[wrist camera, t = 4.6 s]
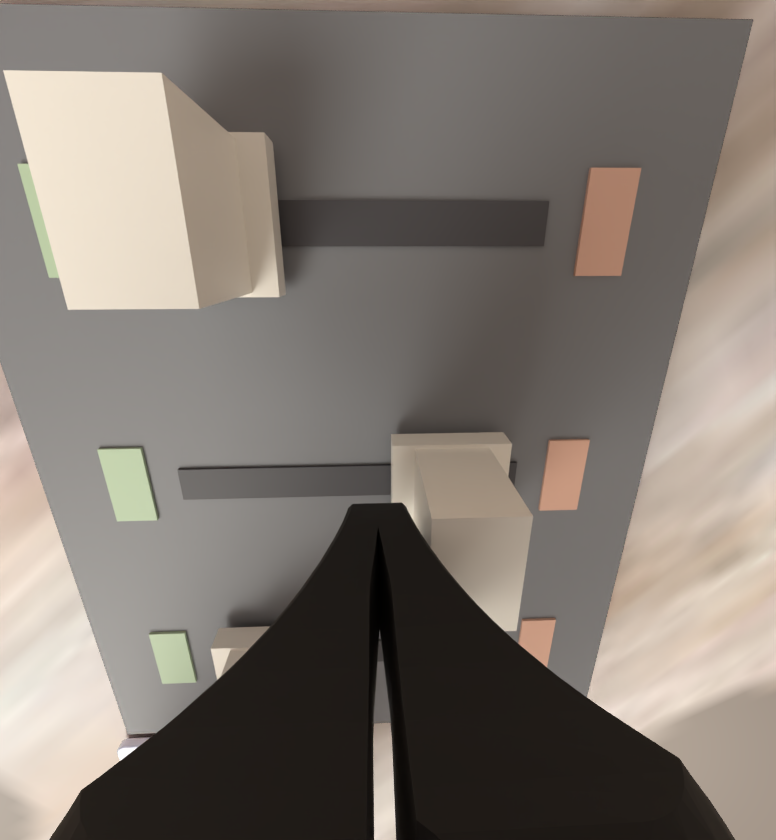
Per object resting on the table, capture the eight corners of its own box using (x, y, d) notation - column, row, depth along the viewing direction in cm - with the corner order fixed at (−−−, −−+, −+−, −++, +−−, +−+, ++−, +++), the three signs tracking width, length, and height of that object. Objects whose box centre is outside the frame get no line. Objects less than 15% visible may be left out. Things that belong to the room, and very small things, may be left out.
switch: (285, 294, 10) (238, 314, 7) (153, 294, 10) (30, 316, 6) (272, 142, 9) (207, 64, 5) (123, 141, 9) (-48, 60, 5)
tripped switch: (493, 526, 13) (542, 633, 9) (390, 529, 13) (399, 638, 9) (503, 432, 12) (563, 511, 8) (391, 434, 12) (401, 515, 8)
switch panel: (561, 668, 19) (583, 716, 17) (152, 685, 18) (126, 737, 16) (687, 60, 11) (757, 16, 9) (-34, 47, 10) (-130, -2, 8)
